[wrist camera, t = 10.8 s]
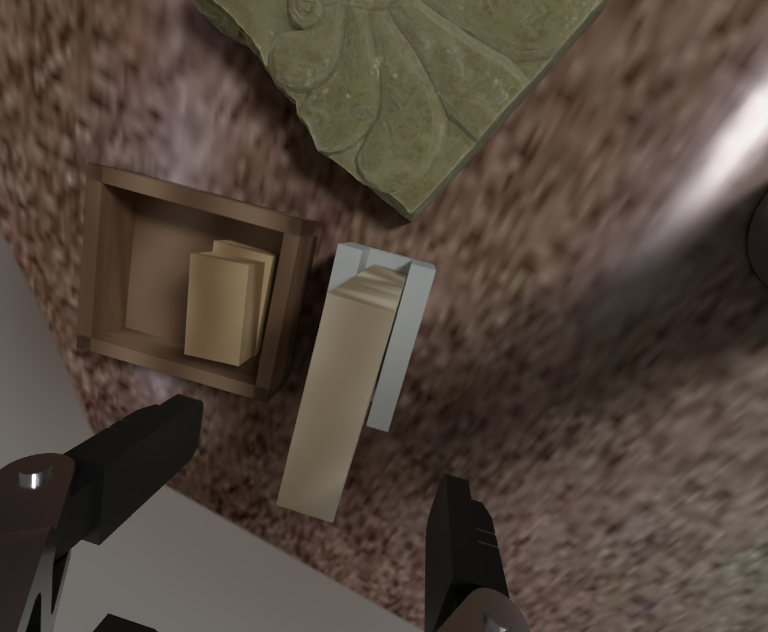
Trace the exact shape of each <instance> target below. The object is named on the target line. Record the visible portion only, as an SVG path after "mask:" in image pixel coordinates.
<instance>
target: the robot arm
mask: <svg viewBox="0 0 768 632" xmlns="http://www.w3.org/2000/svg"><path fill="white" fill-rule="evenodd" d="M748 252H749V258H750V261H751V264H752V267H753V270H754V271H755V273H756V274H757V276H758V277H759V279H760V280H761V281H762V282H763V283H764V284H765V285H766V286H767V287H768V192H767V194H766V195H765V196H764V198H763V199H762V201H761V203H760V204H759V206H758V208H757V209H756V211H755V214H754V217H753V219H752V222H751V225H750V229H749V236H748ZM202 413H203V402H202V401H201V400H198V399H194V398H191V397H187V396H184V395H181V394H177V395H175V396H173V397H172V398H170V399H169V400H167V401H165V402H164V403H162V404H161V405H157V404H155V405H152V406H149V407H145V408H142V409H139V410H136V411H135V412H133V413H131V414H130V415H128V416H126V417H125V418H123V419H122V421H118V422H116V423H115V424H113V425H111V426H110V428H106V429H105V430H103V431H101V432H99V433H98V434H96V435H94V436H93V437H91V438H90V439H88V440H86V441H84V442H83V443H81V444H79V445H78V446H76V447H74V448H73V449H71V450H69V451H68V452H66V453H64V454H57V453H44V454H36V455H32V456H28V457H24V458H21V459H19V460H16V461H14V462H12V463H10V464H8V465H6V466H5V467H3V468H2V469H0V632H53V628H54V623H55V619H56V615H57V611H58V607H59V602H60V598H61V594H62V590H63V586H64V582H65V578H66V574H67V569H68V565H69V561H70V556H71V548H72V547H73V546H75V545H76V544H77V543H78V542H79V541H80V540H81V539H82V540H85V541H88V542H91V543H94V544H97V545H100V544H101V543H102V542H103V541H104V540H105V539H106V538H108V537H109V536H110V535H111V534H112V533H113V532H114V531H115V530H116V529H117V528H118V527H119V526H120V525H121V524H123V523H124V522H125V521H126V520H127V519H128V518H129V517H130V516H131V515H132V514H133V513H134V512H135V511H136V510H137V509H138V508H140V507H141V506H142V505H143V504H144V503H145V502H146V501H147V500H148V499H149V498H150V497H151V496H152V495H153V494H155V493H156V492H157V491H158V490H159V489H160V488H161V487H162V486H163V485H164V484H165V483H166V482H167V481H168V480H169V479H171V478H172V477H173V476H174V475H175V474H176V473H177V472H178V471H179V470H180V469H181V468H182V467H183V466H184V465H185V464H187V463H188V462H189V460H190V459H191V458H192V456H193V455H194V453H195V451H196V449H197V446H198V442H199V435H200V428H201V421H202ZM93 632H157V631H156V630H155V629H153V628H150V627H146V626H144V625H141V624H138V623H135V622H132V621H129V620H126V619H123V618H120V617H117V616H114V615H112V614H107V616H106V617H105V618H104V619H103V621H102V622H101V623H100V624H99V625H98V626H97V628H96V629H95V630H94V631H93ZM425 632H530V629H529V626H528V623H527V621H526V619H525V617H524V615H523V614H522V612H521V611H520V609H519V608H518V607H517V606H516V605H515V604H514V603H513V602H512V601H511V600H510V598H509V593H508V589H507V584H506V580H505V575H504V571H503V566H502V562H501V557H500V553H499V549H498V544H497V539H496V536H495V530H494V526H493V521H492V517H491V516H490V514H489V513H488V511H487V510H486V508H485V506H484V505H483V503H481V502H478V501H475V500H471V494H470V488H469V482H468V480H465V479H462V478H458V477H455V476H451V475H448V474H445V473H444V474H443V476H442V478H441V481H440V484H439V487H438V490H437V493H436V496H435V499H434V502H433V505H432V508H431V511H430V514H429V518H428V523H427V529H426V557H425Z"/></svg>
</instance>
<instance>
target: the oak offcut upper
mask: <svg viewBox="0 0 768 632" xmlns="http://www.w3.org/2000/svg"><path fill="white" fill-rule="evenodd" d="M264 268H265V262H261V261H256V260H251V259H246V258H241V257H236V256H231V255H227V254H222V253H217V252H201V253H191V254H190V270H189V286H188V302H187V318H186V334H185V350H184V354H186V355H190V356H195V357H199V358H204V359H209V360H213V361H218V362H222V363H227V364H231V365H236V366H240V365H241V364H242V363H244V362H245V361H247V360H248V359H249V358H251V357H252V356H253V355H255V349H256V340H257V331H258V322H259V313H260V304H261V295H262V286H263V277H264Z"/></svg>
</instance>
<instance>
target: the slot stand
mask: <svg viewBox="0 0 768 632" xmlns="http://www.w3.org/2000/svg"><path fill="white" fill-rule="evenodd" d="M373 264H377V265H380V266H384V267H387V268H391V269H394V270H398V271H401V272H404V273H408V275H407V278H406V281H405V285H404V288H403V292H402V295H401V298H400V302H399V305H398V309H397V312H396V316H395V319H394V322H393V326H392V329H391V333H390V336H389V339H388V343H387V346H386V350H385V353H384V357H383V360H382V363H381V367H380V370H379V374H378V377H377V380H376V384H375V387H374V391H373V394H372V397H371V400H370V401H371V402H373V403H372V407H371V410H370V414H369V417H368V421H367V425H366V426H369V427H372V428H376V429H379V430H383V431H386V432H388V431H389V427H390V424H391V420H392V417H393V414H394V410H395V407H396V404H397V400H398V397H399V393H400V390H401V387H402V383H403V380H404V377H405V373H406V370H407V366H408V363H409V360H410V356H411V353H412V350H413V346H414V343H415V339H416V336H417V333H418V329H419V326H420V322H421V319H422V316H423V312H424V309H425V306H426V302H427V299H428V295H429V292H430V289H431V285H432V282H433V279H434V275H435V272H436V269H435V267H434V264H430V263H427V262H423V261H419V260H416V259H412V258H408V257H405V256H401V255H397V254H394V253H390V252H386V251H383V250H379V249H375V248H372V247H368V246H364V245H361V244H357V243H353V242H349V243H340V244H338V246H337V251H336V255H335V260H334V264H333V269H332V273H331V277H330V282H329V286H328V291H327V293H329V292H330V291H332V290H333V289H335V288H337V287H338V286H340V285H341V284H343V283H345V282H346V281H348V280H349V279H351V278H353V277H354V276H356V275H357V274H359V273H361V272H362V271H364V270H365V269H367V268H369V267H370V266H372V265H373ZM326 297H327V295H326ZM325 301H326V299H325ZM324 305H325V304H324ZM323 309H324V308H323Z"/></svg>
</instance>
